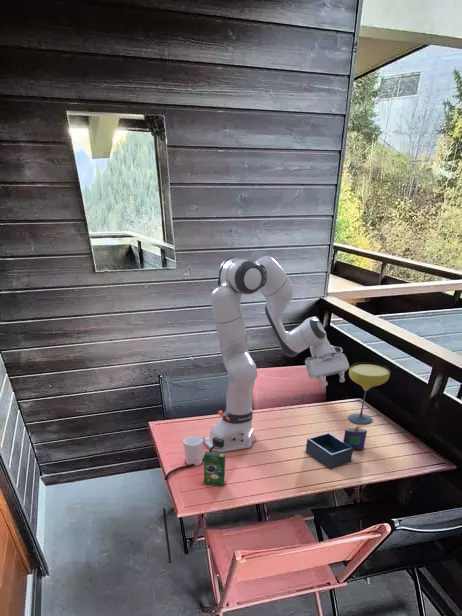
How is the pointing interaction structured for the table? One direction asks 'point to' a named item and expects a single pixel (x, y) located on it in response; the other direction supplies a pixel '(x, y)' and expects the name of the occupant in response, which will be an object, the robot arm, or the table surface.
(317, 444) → the tub
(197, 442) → the white cup
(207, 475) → the coffee box
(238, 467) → the table surface
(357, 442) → the flask
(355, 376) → the cocktail glass
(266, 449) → the table surface
